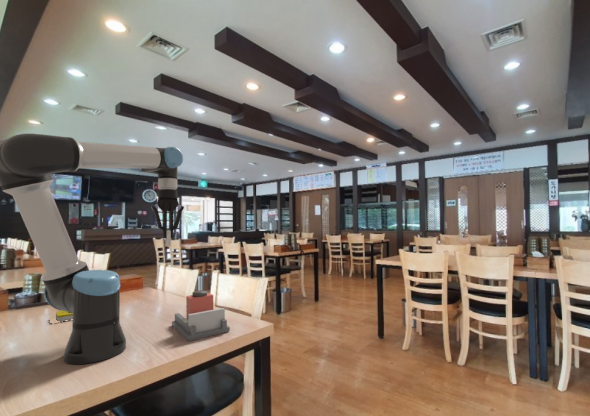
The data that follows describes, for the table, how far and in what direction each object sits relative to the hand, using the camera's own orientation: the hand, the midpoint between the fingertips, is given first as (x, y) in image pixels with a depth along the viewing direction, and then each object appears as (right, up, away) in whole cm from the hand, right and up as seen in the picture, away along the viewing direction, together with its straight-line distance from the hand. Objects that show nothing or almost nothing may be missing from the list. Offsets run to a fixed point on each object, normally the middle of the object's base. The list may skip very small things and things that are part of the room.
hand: (168, 246), depth 128 cm
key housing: (+19, -27, -18) cm, 38 cm away
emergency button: (-39, -30, -1) cm, 49 cm away
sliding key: (+19, -25, -18) cm, 37 cm away
